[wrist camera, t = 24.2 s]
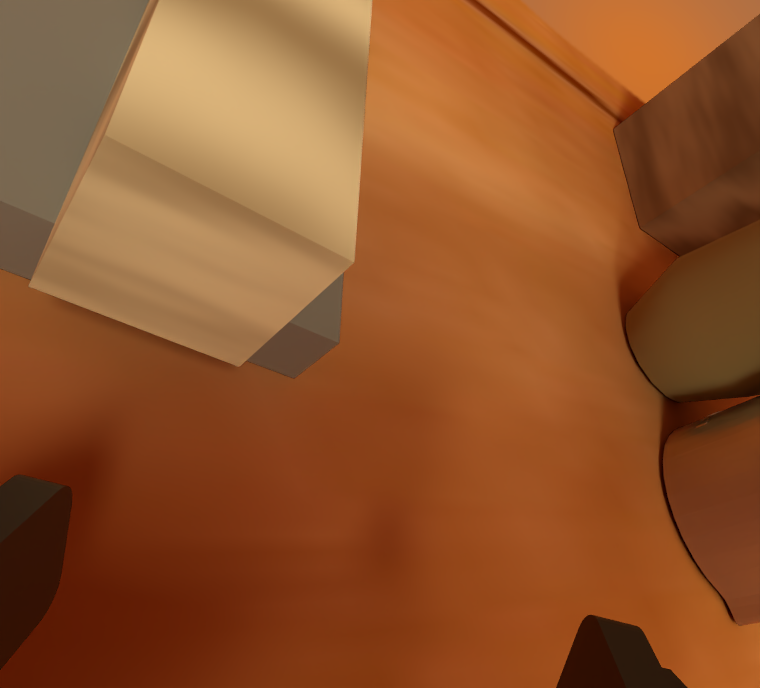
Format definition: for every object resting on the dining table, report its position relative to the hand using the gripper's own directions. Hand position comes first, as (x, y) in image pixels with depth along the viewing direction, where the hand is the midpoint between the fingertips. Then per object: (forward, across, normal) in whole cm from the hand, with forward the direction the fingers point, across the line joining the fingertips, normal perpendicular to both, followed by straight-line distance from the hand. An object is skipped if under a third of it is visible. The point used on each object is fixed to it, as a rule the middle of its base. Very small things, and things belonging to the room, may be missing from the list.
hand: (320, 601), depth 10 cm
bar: (+15, -7, +9) cm, 19 cm away
